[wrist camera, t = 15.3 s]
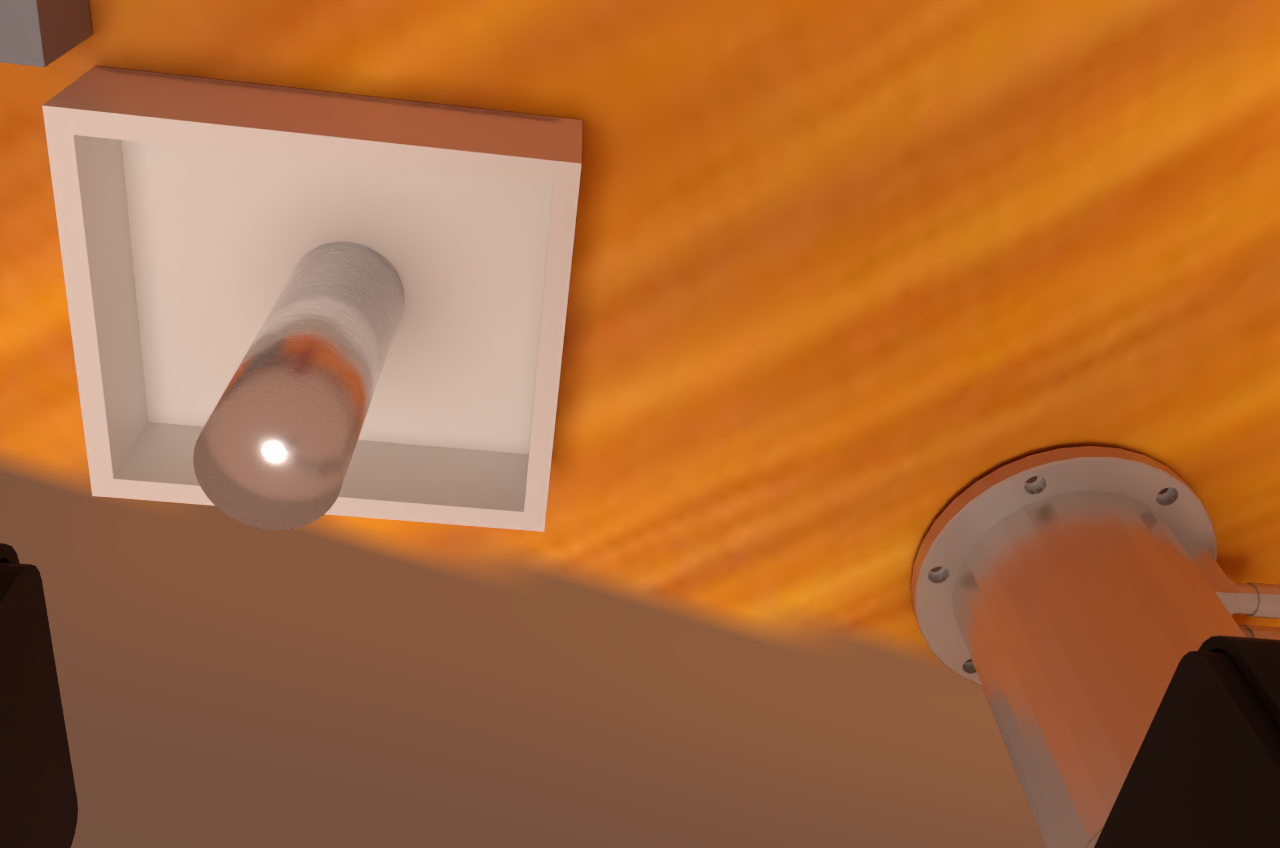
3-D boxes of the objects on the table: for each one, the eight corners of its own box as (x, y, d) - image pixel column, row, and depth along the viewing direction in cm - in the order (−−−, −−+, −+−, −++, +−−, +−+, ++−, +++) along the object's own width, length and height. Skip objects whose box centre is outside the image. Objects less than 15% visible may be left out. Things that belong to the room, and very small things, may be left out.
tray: (582, 120, 41) (581, 163, 37) (547, 465, 48) (544, 531, 44) (95, 66, 40) (42, 105, 36) (133, 429, 47) (92, 495, 43)
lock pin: (402, 245, 43) (339, 407, 32) (405, 347, 45) (346, 532, 34) (286, 238, 42) (185, 401, 32) (294, 342, 44) (201, 527, 34)
